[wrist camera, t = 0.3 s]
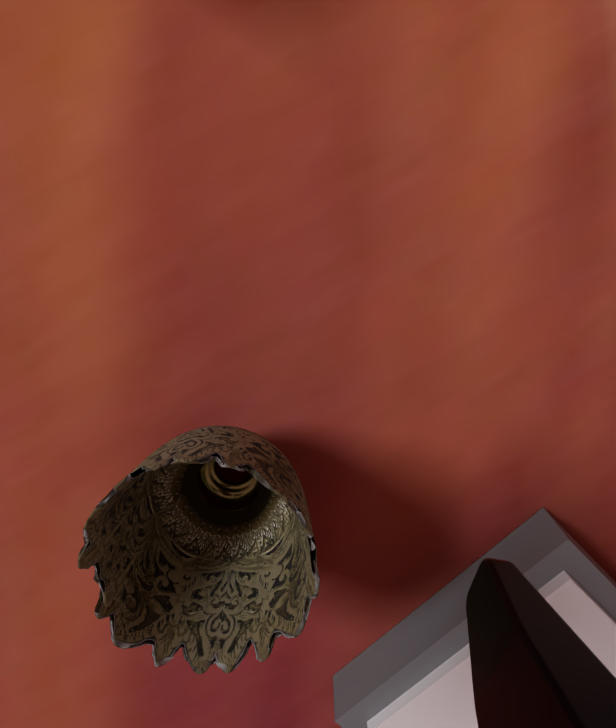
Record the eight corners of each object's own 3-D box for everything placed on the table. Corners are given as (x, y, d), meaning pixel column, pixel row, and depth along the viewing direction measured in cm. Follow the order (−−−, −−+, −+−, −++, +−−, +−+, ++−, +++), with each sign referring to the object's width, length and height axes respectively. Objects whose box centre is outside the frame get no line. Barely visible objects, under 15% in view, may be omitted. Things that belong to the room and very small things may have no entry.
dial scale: (540, 856, 30) (566, 928, 27) (333, 675, 28) (335, 733, 25) (758, 712, 28) (813, 774, 25) (552, 499, 25) (586, 538, 22)
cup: (135, 395, 24) (51, 476, 17) (306, 376, 24) (301, 449, 16) (167, 549, 26) (104, 687, 18) (326, 533, 26) (331, 667, 18)
